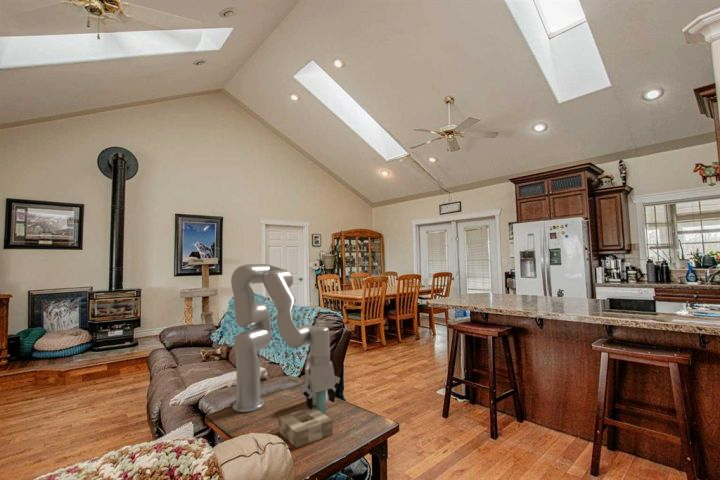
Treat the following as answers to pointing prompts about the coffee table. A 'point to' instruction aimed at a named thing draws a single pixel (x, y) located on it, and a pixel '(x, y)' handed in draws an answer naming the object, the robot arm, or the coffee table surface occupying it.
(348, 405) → the coffee table surface
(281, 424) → the socket block
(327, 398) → the skincare box
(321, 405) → the peg
